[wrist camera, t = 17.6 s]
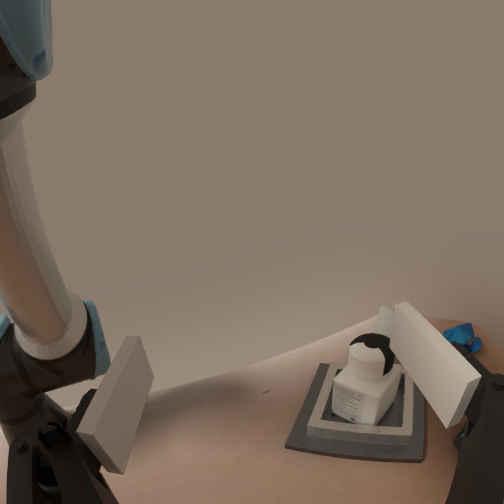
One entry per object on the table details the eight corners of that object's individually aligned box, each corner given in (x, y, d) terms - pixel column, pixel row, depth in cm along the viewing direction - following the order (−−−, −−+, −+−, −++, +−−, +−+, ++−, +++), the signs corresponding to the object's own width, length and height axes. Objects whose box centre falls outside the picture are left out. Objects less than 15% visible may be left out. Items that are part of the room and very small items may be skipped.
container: (356, 385, 44) (362, 322, 40) (395, 400, 39) (409, 335, 35) (330, 412, 39) (334, 348, 36) (371, 432, 34) (386, 367, 30)
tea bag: (392, 365, 48) (399, 321, 45) (371, 349, 54) (375, 307, 52) (405, 358, 49) (412, 314, 46) (384, 343, 55) (388, 301, 53)
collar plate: (285, 448, 35) (284, 435, 34) (320, 367, 52) (320, 353, 51) (420, 462, 27) (428, 449, 26) (421, 374, 44) (425, 359, 43)
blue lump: (493, 325, 40) (470, 338, 36) (478, 364, 42) (452, 382, 38) (466, 313, 47) (439, 322, 43) (454, 350, 49) (424, 364, 45)
